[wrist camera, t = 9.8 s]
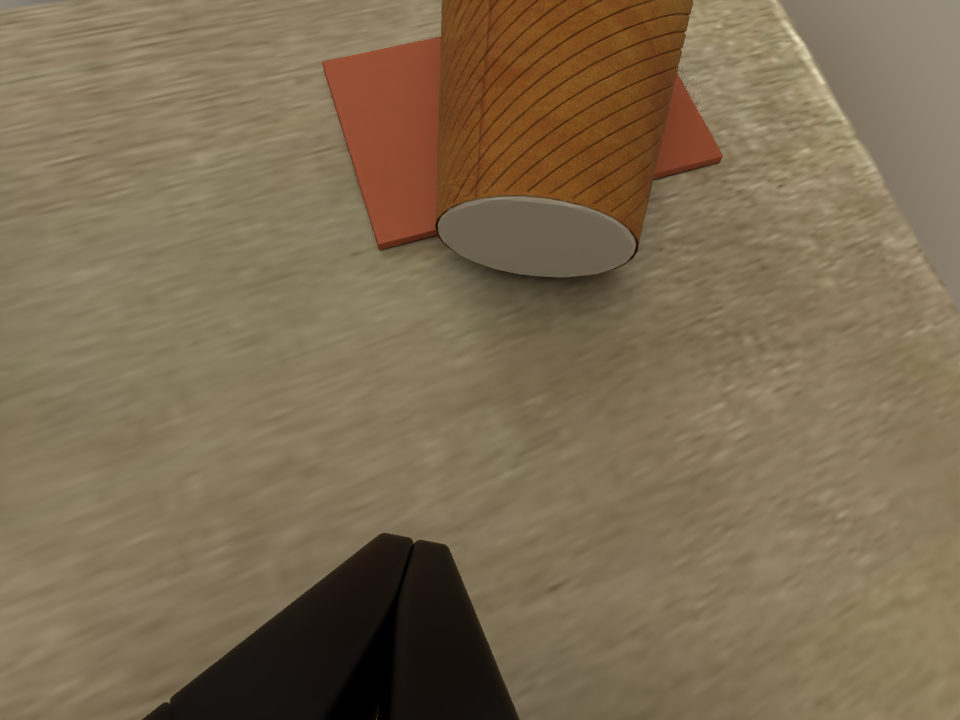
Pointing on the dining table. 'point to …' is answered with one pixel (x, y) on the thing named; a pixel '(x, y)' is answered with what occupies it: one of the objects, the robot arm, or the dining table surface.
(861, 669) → the dining table surface
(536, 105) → the disposable coffee cup
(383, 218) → the mat
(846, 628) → the dining table surface
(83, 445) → the dining table surface
